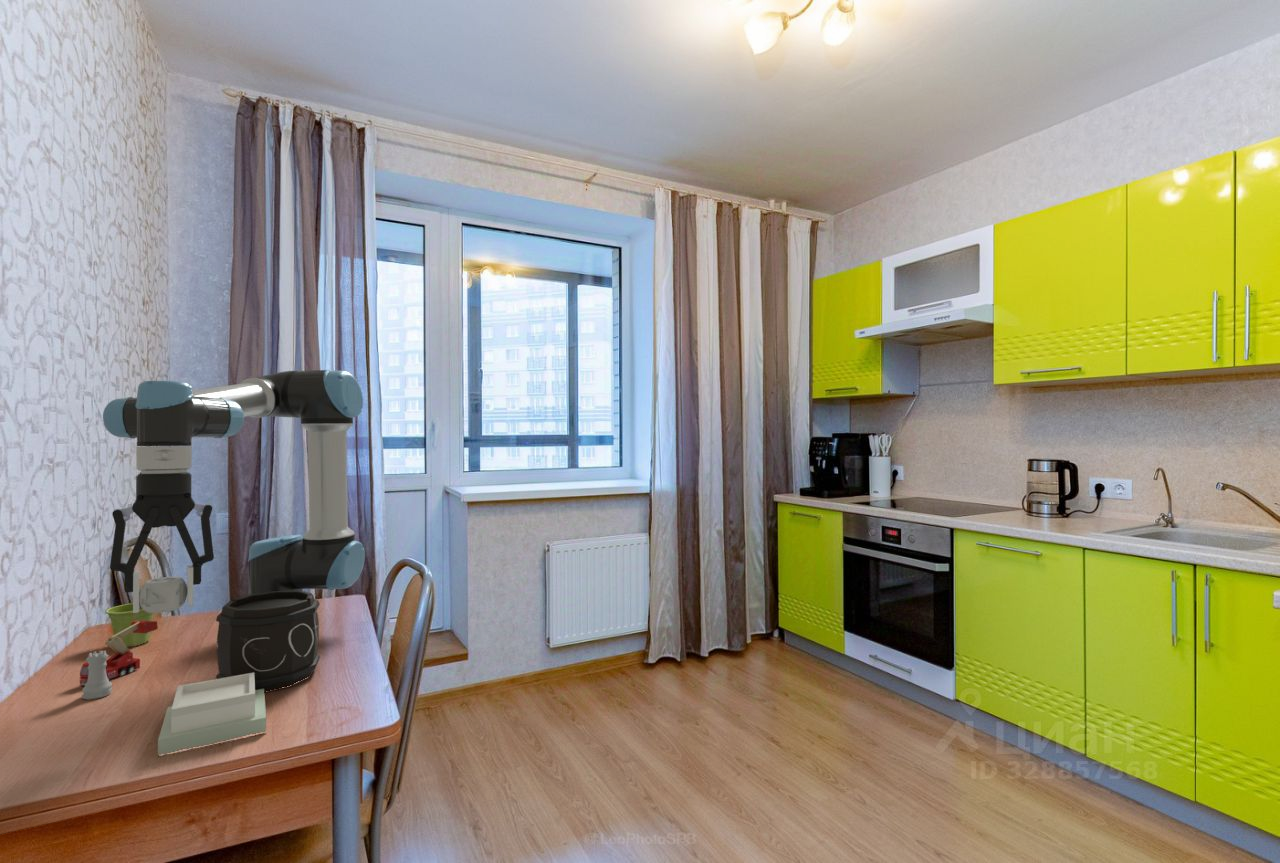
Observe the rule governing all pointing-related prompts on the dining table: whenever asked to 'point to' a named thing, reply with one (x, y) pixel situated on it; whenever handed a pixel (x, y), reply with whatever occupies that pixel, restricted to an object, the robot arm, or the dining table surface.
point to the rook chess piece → (97, 677)
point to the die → (163, 594)
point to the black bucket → (269, 638)
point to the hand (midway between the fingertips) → (163, 607)
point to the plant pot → (129, 623)
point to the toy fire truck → (121, 652)
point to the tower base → (212, 730)
